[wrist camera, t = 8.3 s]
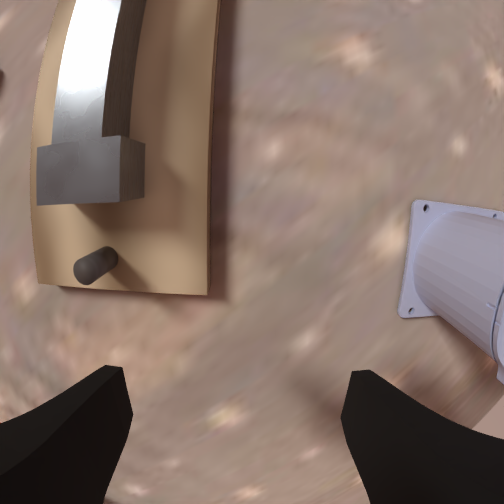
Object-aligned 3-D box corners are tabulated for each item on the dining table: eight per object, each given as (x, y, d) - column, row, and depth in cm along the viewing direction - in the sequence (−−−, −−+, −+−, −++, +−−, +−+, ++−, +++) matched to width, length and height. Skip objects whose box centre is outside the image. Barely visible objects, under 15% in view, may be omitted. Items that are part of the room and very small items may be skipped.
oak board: (232, -96, 12) (230, -128, 7) (210, 286, 19) (199, 317, 14) (101, -74, 11) (84, -99, 7) (49, 277, 19) (12, 298, 14)
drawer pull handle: (178, -73, 11) (170, -101, 8) (144, 197, 16) (119, 202, 13) (116, -60, 11) (101, -84, 8) (70, 200, 16) (36, 205, 13)
